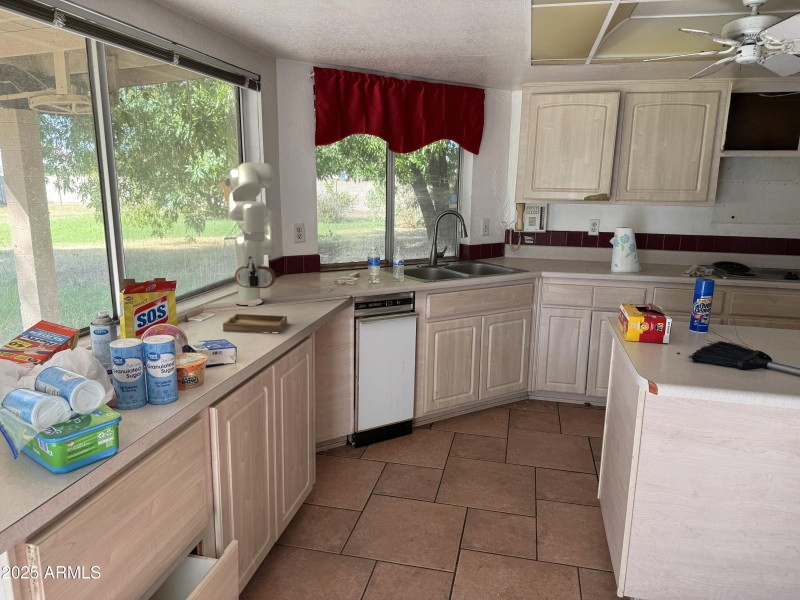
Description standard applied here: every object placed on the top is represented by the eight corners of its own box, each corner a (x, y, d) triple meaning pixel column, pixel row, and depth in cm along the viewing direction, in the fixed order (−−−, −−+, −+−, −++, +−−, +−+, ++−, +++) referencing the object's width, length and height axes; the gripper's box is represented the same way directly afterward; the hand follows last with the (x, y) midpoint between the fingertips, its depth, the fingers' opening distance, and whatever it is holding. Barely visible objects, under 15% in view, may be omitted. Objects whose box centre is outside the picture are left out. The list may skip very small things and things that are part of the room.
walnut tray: (236, 320, 216) (235, 313, 215) (287, 323, 215) (287, 316, 215) (223, 331, 202) (222, 323, 201) (277, 333, 201) (277, 326, 201)
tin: (275, 288, 206) (275, 266, 205) (273, 289, 203) (273, 267, 202) (236, 286, 207) (236, 264, 205) (234, 287, 204) (233, 265, 202)
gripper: (250, 234, 209) (251, 280, 213) (237, 239, 193) (238, 289, 197) (270, 235, 208) (270, 281, 213) (258, 240, 193) (258, 290, 197)
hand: (255, 284), depth 205 cm, fingers closed on tin, 2 cm apart
